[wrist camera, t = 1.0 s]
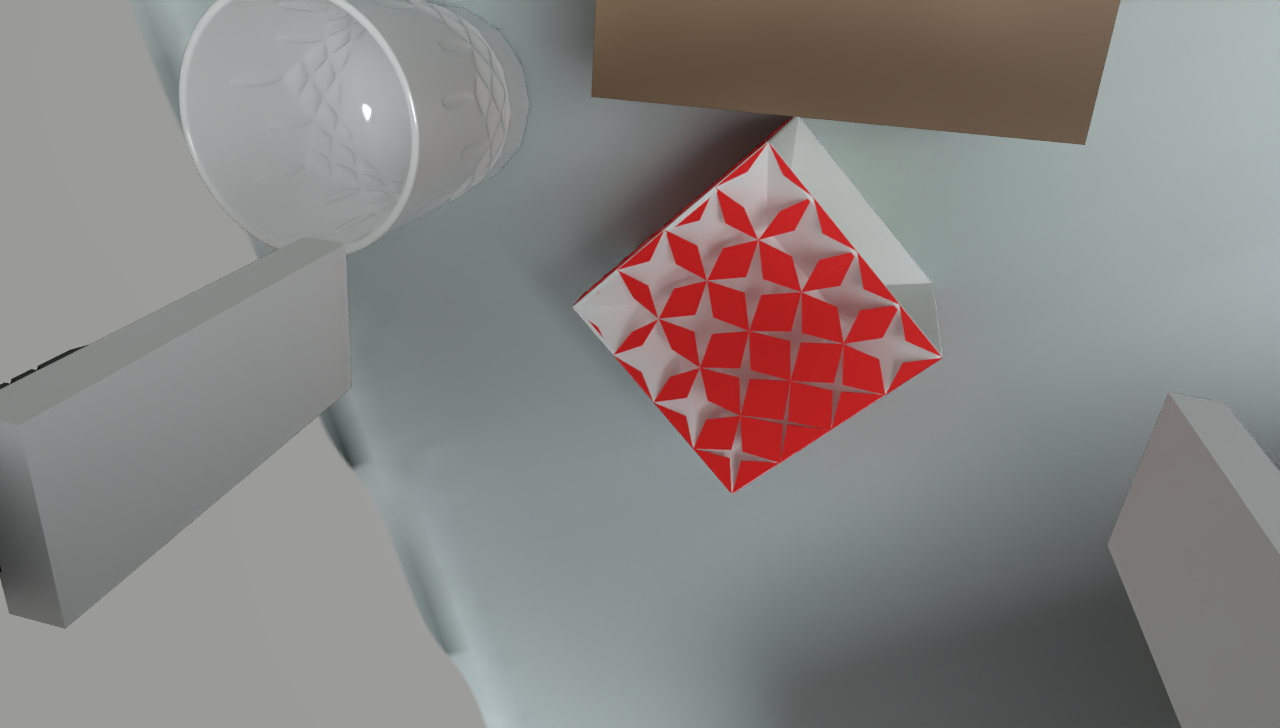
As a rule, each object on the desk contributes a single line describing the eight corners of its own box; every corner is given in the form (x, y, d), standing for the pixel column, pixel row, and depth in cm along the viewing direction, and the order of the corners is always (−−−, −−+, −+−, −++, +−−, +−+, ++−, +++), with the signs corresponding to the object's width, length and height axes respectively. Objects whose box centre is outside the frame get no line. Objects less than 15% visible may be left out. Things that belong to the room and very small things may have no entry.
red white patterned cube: (934, 284, 33) (943, 358, 26) (765, 401, 36) (732, 495, 29) (796, 111, 32) (765, 138, 25) (636, 247, 35) (570, 304, 28)
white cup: (496, -47, 33) (341, -72, 24) (576, 161, 35) (461, 212, 26) (327, 36, 36) (132, 42, 27) (410, 224, 38) (254, 289, 28)
